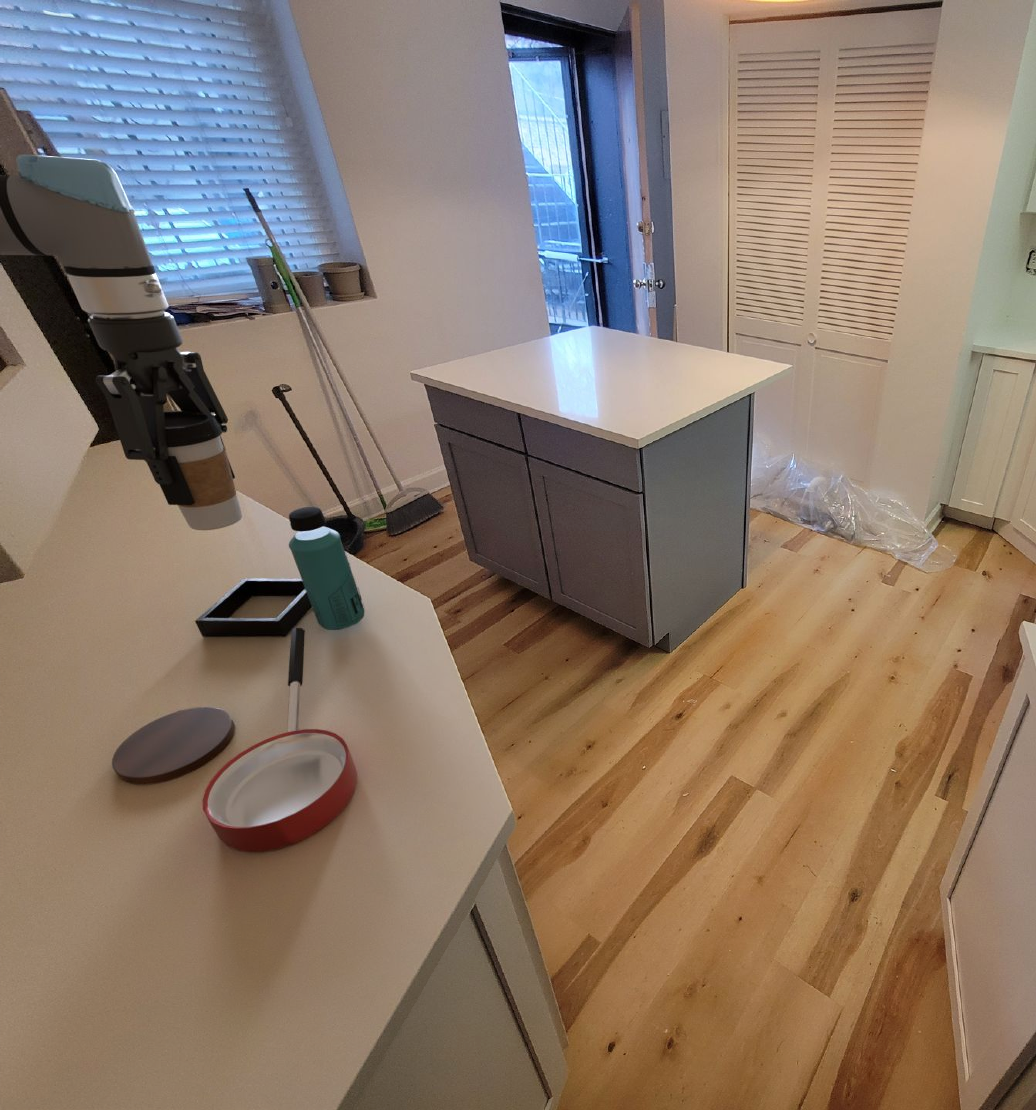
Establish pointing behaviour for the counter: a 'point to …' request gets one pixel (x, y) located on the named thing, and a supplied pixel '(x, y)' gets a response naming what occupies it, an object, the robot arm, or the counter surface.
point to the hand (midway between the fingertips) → (203, 490)
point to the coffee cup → (203, 469)
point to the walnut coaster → (173, 745)
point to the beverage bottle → (324, 570)
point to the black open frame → (221, 625)
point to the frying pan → (282, 780)
